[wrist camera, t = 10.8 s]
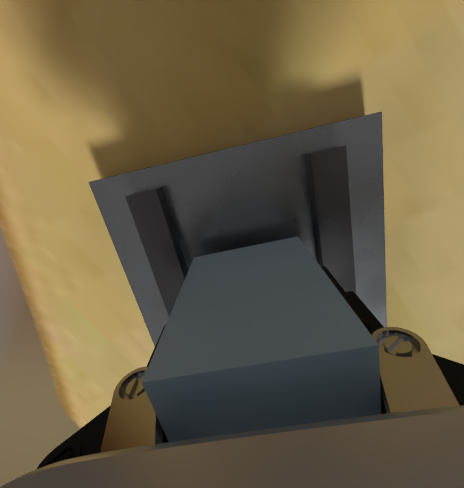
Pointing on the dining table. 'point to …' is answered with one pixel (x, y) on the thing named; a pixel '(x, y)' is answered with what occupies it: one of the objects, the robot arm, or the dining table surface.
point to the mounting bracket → (254, 211)
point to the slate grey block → (260, 347)
